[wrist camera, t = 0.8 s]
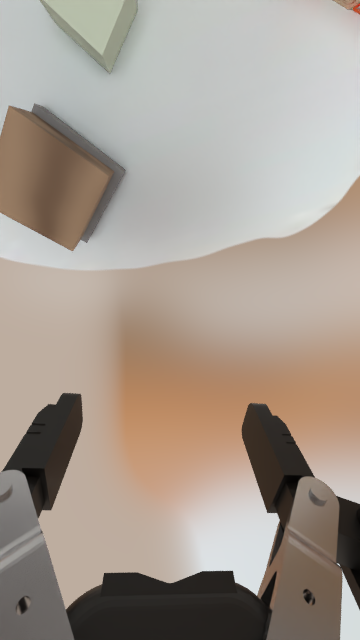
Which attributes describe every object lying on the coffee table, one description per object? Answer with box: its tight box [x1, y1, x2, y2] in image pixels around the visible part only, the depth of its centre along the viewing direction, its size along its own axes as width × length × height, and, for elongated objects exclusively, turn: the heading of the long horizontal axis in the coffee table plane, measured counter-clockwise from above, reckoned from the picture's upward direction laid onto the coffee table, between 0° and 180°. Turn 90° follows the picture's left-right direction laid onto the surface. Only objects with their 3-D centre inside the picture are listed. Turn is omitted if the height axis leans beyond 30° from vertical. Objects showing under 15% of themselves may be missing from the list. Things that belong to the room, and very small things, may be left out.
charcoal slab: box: [32, 103, 125, 243], centre depth 27 cm, size 9×9×3 cm
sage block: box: [40, 0, 138, 73], centre depth 19 cm, size 5×5×6 cm
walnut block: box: [0, 106, 114, 251], centre depth 24 cm, size 8×8×5 cm
